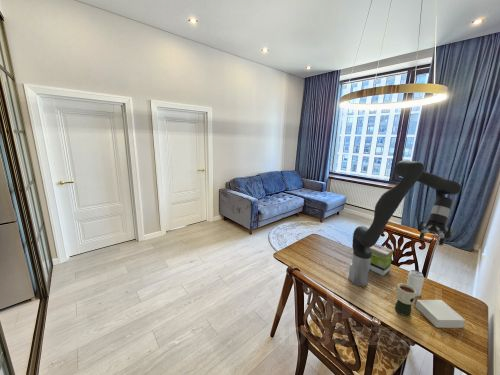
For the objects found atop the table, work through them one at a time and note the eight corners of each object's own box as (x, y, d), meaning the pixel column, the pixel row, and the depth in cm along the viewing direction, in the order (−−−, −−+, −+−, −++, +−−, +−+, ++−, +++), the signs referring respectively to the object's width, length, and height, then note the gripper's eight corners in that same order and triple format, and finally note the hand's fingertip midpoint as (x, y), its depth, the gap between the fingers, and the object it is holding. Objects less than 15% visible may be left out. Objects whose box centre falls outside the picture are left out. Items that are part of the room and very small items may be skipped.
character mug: (408, 322, 96) (413, 297, 93) (390, 313, 101) (394, 289, 98) (413, 310, 103) (418, 286, 100) (396, 302, 108) (400, 279, 105)
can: (423, 297, 111) (427, 277, 109) (409, 296, 112) (413, 276, 110) (416, 289, 117) (420, 270, 115) (403, 287, 119) (406, 268, 116)
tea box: (358, 265, 140) (361, 244, 137) (365, 260, 146) (368, 240, 143) (383, 276, 129) (387, 254, 125) (390, 270, 135) (393, 249, 131)
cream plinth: (436, 327, 93) (438, 319, 93) (415, 306, 105) (417, 299, 104) (463, 327, 93) (465, 320, 93) (439, 306, 105) (441, 300, 104)
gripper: (421, 210, 123) (412, 236, 122) (453, 216, 111) (444, 245, 110) (426, 214, 127) (418, 239, 126) (458, 220, 114) (449, 248, 113)
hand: (430, 242), depth 118 cm, fingers open, 8 cm apart
